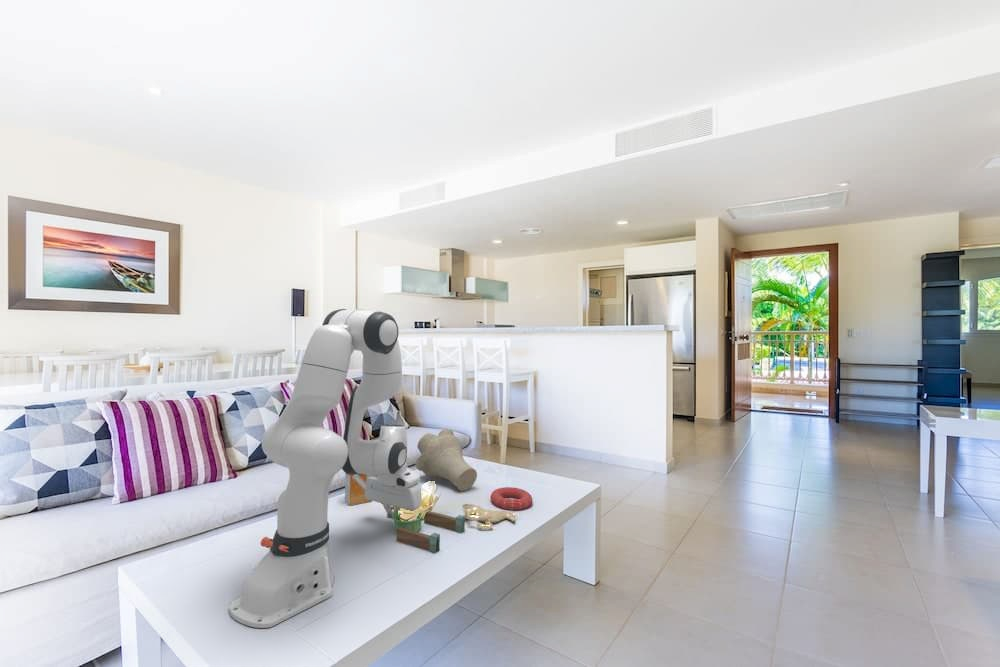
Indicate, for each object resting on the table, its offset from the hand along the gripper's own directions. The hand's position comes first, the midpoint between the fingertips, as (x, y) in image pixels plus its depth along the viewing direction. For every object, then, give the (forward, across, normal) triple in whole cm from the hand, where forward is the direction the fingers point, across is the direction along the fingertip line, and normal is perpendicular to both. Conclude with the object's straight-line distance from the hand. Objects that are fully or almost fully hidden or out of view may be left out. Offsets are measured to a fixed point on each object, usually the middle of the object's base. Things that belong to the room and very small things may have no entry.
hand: (391, 518), depth 141 cm
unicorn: (+3, +23, +18) cm, 30 cm away
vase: (+2, -4, +39) cm, 40 cm away
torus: (+3, +26, +35) cm, 43 cm away
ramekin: (+2, +6, 0) cm, 7 cm away
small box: (+2, -23, +9) cm, 25 cm away
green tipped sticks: (+2, +15, 0) cm, 15 cm away
